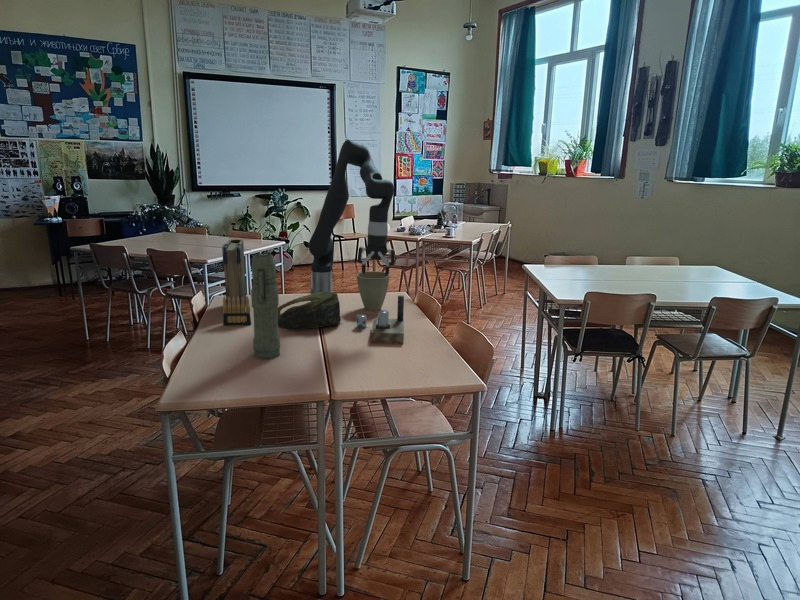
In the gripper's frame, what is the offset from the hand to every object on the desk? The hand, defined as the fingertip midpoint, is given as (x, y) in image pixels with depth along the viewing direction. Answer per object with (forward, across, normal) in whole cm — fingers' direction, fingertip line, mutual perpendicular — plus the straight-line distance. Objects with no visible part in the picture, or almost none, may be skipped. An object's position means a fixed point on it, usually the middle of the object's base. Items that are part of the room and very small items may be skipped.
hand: (375, 274), depth 205 cm
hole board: (+22, +7, -6) cm, 24 cm away
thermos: (+24, -33, -32) cm, 52 cm away
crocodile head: (+24, -26, 0) cm, 35 cm away
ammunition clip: (+25, -54, -1) cm, 60 cm away
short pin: (+23, -5, +2) cm, 23 cm away
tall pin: (+22, +5, -8) cm, 24 cm away
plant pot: (+23, -3, +30) cm, 38 cm away
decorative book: (+25, -62, +20) cm, 70 cm away
